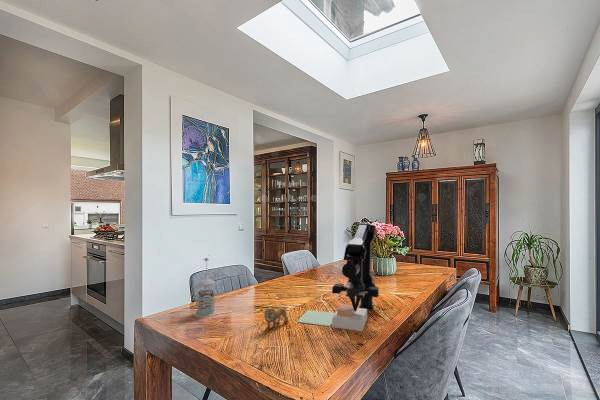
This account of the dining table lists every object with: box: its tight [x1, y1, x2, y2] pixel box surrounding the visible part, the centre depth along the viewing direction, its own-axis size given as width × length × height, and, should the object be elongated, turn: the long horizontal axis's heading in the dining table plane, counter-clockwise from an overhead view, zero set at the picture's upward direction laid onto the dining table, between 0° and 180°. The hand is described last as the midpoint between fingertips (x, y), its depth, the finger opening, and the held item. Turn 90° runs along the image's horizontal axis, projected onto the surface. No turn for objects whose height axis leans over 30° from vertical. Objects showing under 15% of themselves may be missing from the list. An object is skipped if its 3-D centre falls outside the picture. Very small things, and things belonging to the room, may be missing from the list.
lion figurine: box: [264, 306, 289, 330], centre depth 122 cm, size 15×5×9 cm, turn 153°
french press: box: [190, 257, 218, 319], centre depth 136 cm, size 10×12×25 cm
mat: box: [296, 309, 336, 328], centre depth 131 cm, size 15×14×1 cm
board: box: [331, 307, 368, 332], centre depth 126 cm, size 15×12×4 cm
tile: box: [336, 303, 354, 317], centre depth 127 cm, size 9×6×2 cm, turn 161°
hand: (355, 310), depth 126 cm, fingers closed
